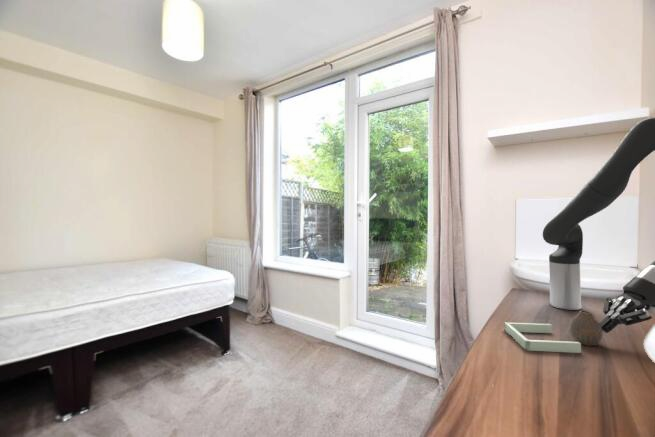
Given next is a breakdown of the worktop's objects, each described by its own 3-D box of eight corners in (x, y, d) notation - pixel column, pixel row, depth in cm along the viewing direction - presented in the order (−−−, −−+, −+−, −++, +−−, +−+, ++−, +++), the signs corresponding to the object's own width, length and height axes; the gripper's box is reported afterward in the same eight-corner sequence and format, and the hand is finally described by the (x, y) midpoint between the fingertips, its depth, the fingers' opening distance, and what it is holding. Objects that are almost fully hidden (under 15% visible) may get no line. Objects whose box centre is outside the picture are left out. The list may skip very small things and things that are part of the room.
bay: (504, 330, 92) (504, 322, 92) (550, 331, 89) (550, 323, 89) (526, 350, 78) (525, 341, 78) (581, 353, 76) (580, 343, 76)
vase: (594, 339, 83) (593, 308, 83) (608, 349, 77) (607, 316, 77) (565, 336, 86) (564, 307, 86) (577, 346, 79) (576, 314, 79)
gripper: (619, 271, 86) (574, 312, 88) (663, 281, 72) (609, 328, 75) (641, 289, 85) (595, 330, 87) (689, 302, 72) (633, 350, 74)
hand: (601, 329), depth 81 cm, fingers closed
